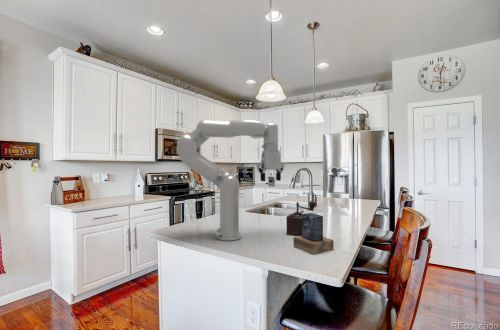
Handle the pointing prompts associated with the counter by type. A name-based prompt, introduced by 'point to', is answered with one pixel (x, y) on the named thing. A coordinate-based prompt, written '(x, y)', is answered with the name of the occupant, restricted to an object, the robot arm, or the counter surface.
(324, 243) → the base
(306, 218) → the box
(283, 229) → the counter surface
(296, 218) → the antique coffee grinder
